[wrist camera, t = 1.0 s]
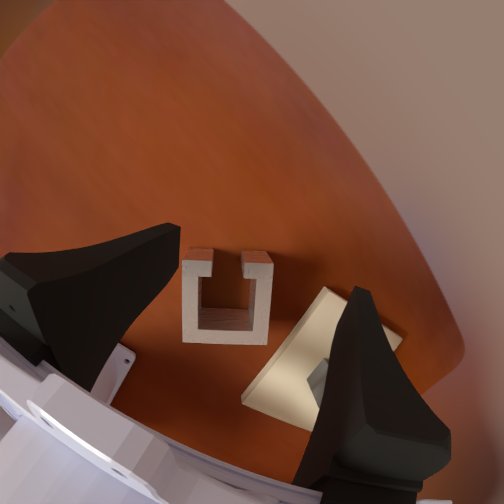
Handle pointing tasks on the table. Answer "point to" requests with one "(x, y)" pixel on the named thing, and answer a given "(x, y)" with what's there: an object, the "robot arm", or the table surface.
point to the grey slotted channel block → (226, 319)
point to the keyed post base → (302, 365)
